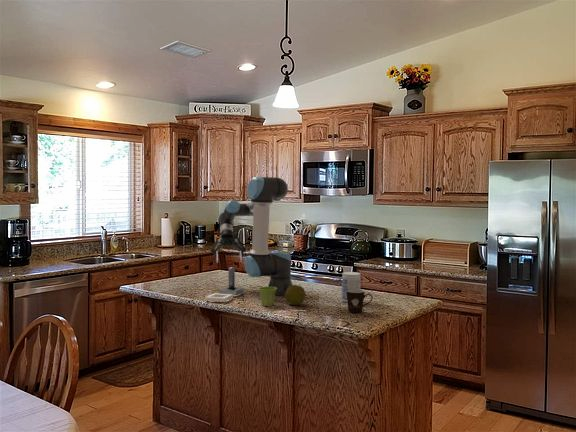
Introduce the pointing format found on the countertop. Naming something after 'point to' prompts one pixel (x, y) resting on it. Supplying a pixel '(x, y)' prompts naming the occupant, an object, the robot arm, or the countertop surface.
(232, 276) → the rod
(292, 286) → the apple
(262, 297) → the plant pot
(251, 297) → the countertop surface
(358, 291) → the coffee mug
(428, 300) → the countertop surface
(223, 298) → the block
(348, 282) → the supplement tub
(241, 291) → the socket block
